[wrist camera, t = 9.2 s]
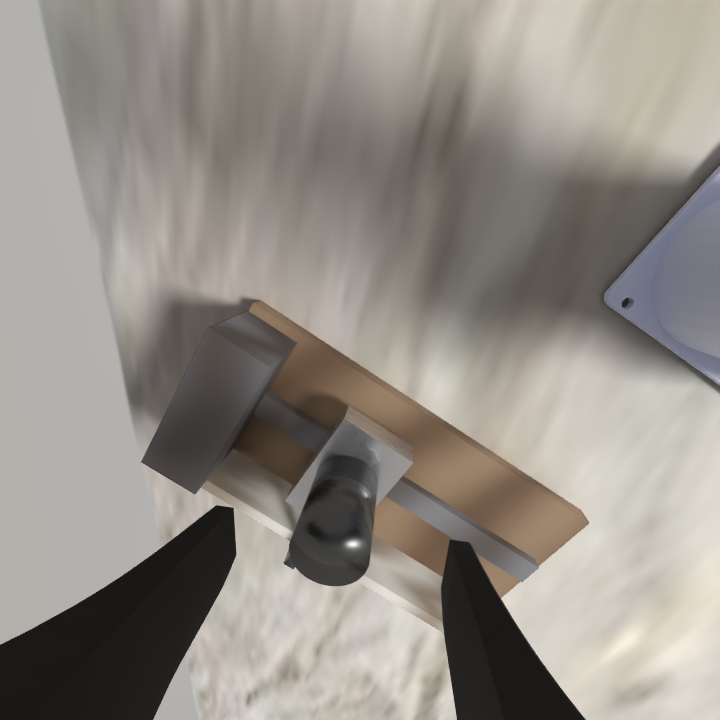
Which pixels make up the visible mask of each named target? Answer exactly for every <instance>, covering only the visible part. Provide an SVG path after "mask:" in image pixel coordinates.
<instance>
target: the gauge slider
mask: <svg viewBox="0 0 720 720" xmlns="http://www.w3.org/2000/svg"><path fill="white" fill-rule="evenodd" d="M412 464H413V446H411V445H410V444H408V443H407V442H405V441H404V440H402V439H400V438H399V437H397V436H396V435H394V434H393V433H391V432H390V431H388V430H386V429H385V428H383V427H382V426H380V425H379V424H377V423H376V422H374V421H372V420H371V419H369V418H368V417H366V416H365V415H363V414H362V413H360V412H358V411H357V410H355V409H354V408H352V407H351V406H348V407H347V409H346V410H345V412H344V413H343V414H342V416H341V417H340V419H339V420H338V421H337V423H336V424H335V426H334V427H333V428H332V430H331V431H330V433H329V434H328V435H327V437H326V438H325V440H324V441H323V442H322V444H321V445H320V446H319V448H318V449H317V451H316V452H315V453H314V455H313V456H312V458H311V459H310V460H309V462H308V463H307V465H306V466H305V467H304V469H303V470H302V472H301V473H300V474H299V476H298V477H297V479H296V480H295V481H294V483H293V485H292V487H291V489H290V491H289V493H288V495H287V498H286V500H285V501H286V502H287V503H289V504H291V505H292V506H294V507H295V508H297V509H299V510H300V511H302V512H301V514H300V517H299V520H298V522H297V525H296V527H295V530H294V533H293V535H292V538H291V540H290V544H289V550H288V553H287V556H286V558H285V561H284V564H285V565H287V566H289V567H290V568H292V569H294V568H295V567H296V568H297V570H298V571H299V572H300V573H302V574H303V575H304V576H305V577H307V578H308V579H310V580H312V581H314V582H317V583H319V584H323V585H328V586H343V585H348V584H351V583H353V582H355V581H357V580H359V579H360V578H361V577H362V576H363V575H364V574H365V573H366V571H367V569H368V567H369V563H370V556H371V546H372V536H373V527H374V517H375V508H376V506H377V505H378V504H379V503H380V501H381V500H382V499H383V498H384V497H385V496H386V494H387V493H388V492H389V491H390V490H391V489H392V487H393V486H394V485H395V484H396V483H397V482H398V480H399V479H400V478H401V477H402V476H403V475H404V473H405V472H406V471H407V470H408V469H409V468H410V466H411V465H412Z"/></svg>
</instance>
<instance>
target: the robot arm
mask: <svg viewBox="0 0 720 720" xmlns="http://www.w3.org/2000/svg"><path fill="white" fill-rule="evenodd" d="M625 298H628V299H629V303H628V304H627V305H626V306H625V307H622V301H623V300H624V299H625ZM604 302H605V303H606V304H607V305H608V306H609V307H610V308H612V309H613V310H615V311H616V312H617V313H619V314H620V315H622V316H623V317H624V318H626V319H627V320H629V321H630V322H631V323H633V324H634V325H636V326H637V327H638V328H640V329H641V330H643V331H644V332H645V333H647V334H648V335H650V336H651V337H652V338H654V339H655V340H657V341H658V342H659V343H661V344H662V345H664V346H665V347H666V348H668V349H669V350H671V351H672V352H673V353H675V354H676V355H678V356H679V357H680V358H682V359H683V360H685V361H686V362H687V363H689V364H690V365H692V366H693V367H694V368H696V369H697V370H699V371H700V372H701V373H703V374H704V375H706V376H707V377H708V378H710V379H711V380H713V381H714V382H715V383H717V384H718V385H720V166H719V167H718V168H717V169H716V170H715V171H714V172H713V173H712V174H711V176H710V177H709V178H708V179H707V180H706V181H705V182H704V183H703V184H702V185H701V187H700V188H699V189H698V190H697V191H696V192H695V193H694V194H693V195H692V197H691V198H690V199H689V200H688V201H687V202H686V203H685V204H684V205H683V207H682V208H681V209H680V210H679V211H678V212H677V213H676V214H675V215H674V216H673V218H672V219H671V220H670V221H669V222H668V223H667V224H666V225H665V226H664V228H663V229H662V230H661V231H660V232H659V233H658V234H657V235H656V236H655V237H654V239H653V240H652V241H651V242H650V243H649V244H648V245H647V246H646V247H645V249H644V250H643V251H642V252H641V253H640V254H639V255H638V256H637V257H636V258H635V260H634V261H633V262H632V263H631V264H630V265H629V266H628V267H627V268H626V270H625V271H624V272H623V273H622V274H621V275H620V276H619V277H618V278H617V279H616V281H615V282H614V283H613V284H612V285H611V286H610V287H609V288H608V289H607V291H606V292H605V294H604ZM235 557H236V541H235V525H234V508H231V507H224V506H217V505H216V506H215V507H214V508H212V509H211V510H210V511H208V512H207V513H206V514H205V515H203V516H202V517H201V518H199V519H198V520H197V521H196V522H194V523H193V524H192V525H190V526H189V527H188V528H187V529H185V530H184V531H183V532H182V533H180V534H179V535H178V536H176V537H175V538H174V539H172V540H171V541H170V542H168V543H167V544H166V545H164V546H163V547H162V548H161V549H159V550H158V551H157V552H155V553H154V554H152V555H151V556H150V557H148V558H147V559H145V560H144V561H143V562H141V563H140V564H139V565H137V566H136V567H134V568H133V569H132V570H130V571H128V572H127V573H126V574H124V575H123V576H121V577H120V578H118V579H117V580H115V581H114V582H112V583H110V584H109V585H107V586H106V587H104V588H103V589H101V590H99V591H98V592H96V593H95V594H93V595H91V596H90V597H88V598H86V599H85V600H83V601H81V602H80V603H78V604H76V605H75V606H73V607H71V608H69V609H67V610H66V611H64V612H62V613H60V614H58V615H56V616H55V617H53V618H51V619H49V620H47V621H46V622H44V623H42V624H40V625H38V626H37V627H35V628H33V629H31V630H29V631H27V632H25V633H23V634H21V635H19V636H17V637H15V638H13V639H11V640H9V641H7V642H5V643H3V644H1V645H0V720H153V718H154V716H155V714H156V712H157V710H158V707H159V705H160V703H161V701H162V699H163V697H164V695H165V693H166V690H167V688H168V686H169V684H170V682H171V680H172V678H173V676H174V674H175V672H176V670H177V668H178V666H179V664H180V663H181V661H182V659H183V657H184V656H185V654H186V652H187V650H188V649H189V647H190V645H191V643H192V641H193V640H194V638H195V636H196V634H197V632H198V631H199V629H200V627H201V625H202V624H203V622H204V620H205V618H206V616H207V615H208V613H209V611H210V609H211V607H212V606H213V604H214V602H215V600H216V598H217V597H218V595H219V593H220V591H221V589H222V587H223V585H224V583H225V581H226V578H227V576H228V574H229V571H230V569H231V567H232V564H233V562H234V559H235ZM441 601H442V619H443V629H444V636H445V643H446V649H447V656H448V663H449V669H450V676H451V682H452V689H453V695H454V702H455V708H456V715H457V720H586V719H585V718H584V717H583V716H582V715H581V713H580V712H579V711H578V710H577V708H576V707H575V706H574V704H573V703H572V702H571V701H570V699H569V698H568V697H567V695H566V694H565V693H564V692H563V690H562V689H561V688H560V686H559V685H558V684H557V682H556V681H555V680H554V678H553V677H552V675H551V674H550V673H549V671H548V670H547V669H546V667H545V666H544V664H543V663H542V662H541V660H540V659H539V657H538V656H537V655H536V653H535V652H534V650H533V649H532V647H531V646H530V644H529V643H528V641H527V640H526V638H525V637H524V635H523V634H522V632H521V631H520V629H519V628H518V626H517V624H516V623H515V621H514V620H513V618H512V616H511V615H510V613H509V612H508V610H507V608H506V607H505V605H504V603H503V602H502V600H501V598H500V597H499V595H498V593H497V591H496V590H495V588H494V586H493V584H492V583H491V581H490V579H489V577H488V575H487V574H486V572H485V570H484V568H483V566H482V564H481V562H480V560H479V558H478V556H477V554H476V552H475V550H474V548H473V546H472V545H471V544H470V542H465V541H458V540H451V539H450V541H449V546H448V551H447V557H446V562H445V568H444V573H443V578H442V584H441Z"/></svg>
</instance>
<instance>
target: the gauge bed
mask: <svg viewBox="0 0 720 720" xmlns="http://www.w3.org/2000/svg"><path fill="white" fill-rule="evenodd" d="M348 406H351V407H352V408H354V409H355V410H357V411H358V412H360V413H362V414H363V415H365V416H366V417H368V418H369V419H371V420H372V421H374V422H376V423H377V424H379V425H380V426H382V427H383V428H385V429H386V430H388V431H390V432H391V433H393V434H394V435H396V436H397V437H399V438H400V439H402V440H404V441H405V442H407V443H408V444H410V445H411V446H413V464H412V465H411V466H410V468H409V469H408V470H407V471H406V472H405V473H404V475H403V476H402V477H401V478H400V479H399V480H398V482H397V483H396V484H395V485H394V486H393V487H392V489H391V490H390V491H389V492H388V493H387V494H386V496H385V497H384V498H383V499H382V500H381V501H380V503H379V504H378V505H377V506H376V508H375V517H374V527H373V536H372V546H371V556H370V563H369V567H368V569H367V571H366V573H365V574H364V575H363V576H362V577H361V578H360V579H359V580H357V581H358V582H360V583H361V584H363V585H365V586H366V587H368V588H370V589H371V590H373V591H375V592H376V593H378V594H380V595H381V596H383V597H385V598H386V599H388V600H390V601H391V602H393V603H395V604H396V605H398V606H400V607H401V608H403V609H405V610H406V611H408V612H410V613H411V614H413V615H415V616H416V617H418V618H420V619H421V620H423V621H425V622H426V623H428V624H430V625H431V626H433V627H435V628H436V629H438V630H440V631H441V632H443V633H444V629H443V619H442V601H441V584H442V578H443V573H444V568H445V562H446V557H447V551H448V546H449V541H450V539H451V540H458V541H465V542H470V544H471V545H472V546H473V548H474V550H475V552H476V554H477V556H478V558H479V560H480V562H481V564H482V566H483V568H484V570H485V572H486V574H487V575H488V577H489V579H490V581H491V583H492V584H493V586H494V588H495V590H496V591H497V593H498V595H499V597H500V598H502V597H503V596H504V595H505V594H506V593H508V592H509V591H510V590H511V589H512V588H513V587H515V586H516V585H517V584H518V583H519V582H520V581H521V582H523V581H524V580H525V579H526V578H528V577H529V576H530V575H531V574H532V573H533V572H535V571H536V570H537V569H538V568H539V567H538V566H539V565H541V564H542V563H543V562H544V561H545V560H546V559H548V558H549V557H550V556H551V555H552V554H554V553H555V552H556V551H557V550H558V549H559V548H561V547H562V546H563V545H564V544H565V543H566V542H568V541H569V540H570V539H571V538H572V537H574V536H575V535H576V534H577V533H578V532H579V531H581V530H582V529H583V528H584V527H585V526H587V525H588V524H589V521H588V520H587V518H586V517H585V515H584V514H583V512H582V511H581V510H580V509H578V508H577V507H575V506H574V505H572V504H571V503H569V502H568V501H566V500H565V499H563V498H562V497H560V496H559V495H557V494H556V493H554V492H552V491H551V490H549V489H548V488H546V487H545V486H543V485H542V484H540V483H539V482H537V481H536V480H534V479H533V478H531V477H530V476H528V475H526V474H525V473H523V472H522V471H520V470H519V469H517V468H516V467H514V466H513V465H511V464H510V463H508V462H507V461H505V460H504V459H502V458H501V457H499V456H497V455H496V454H494V453H493V452H491V451H490V450H488V449H487V448H485V447H484V446H482V445H481V444H479V443H478V442H476V441H475V440H473V439H472V438H470V437H468V436H467V435H465V434H464V433H462V432H461V431H459V430H458V429H456V428H455V427H453V426H452V425H450V424H449V423H447V422H446V421H444V420H443V419H441V418H439V417H438V416H436V415H435V414H433V413H432V412H430V411H429V410H427V409H426V408H424V407H423V406H421V405H420V404H418V403H417V402H415V401H413V400H412V399H410V398H409V397H407V396H406V395H404V394H403V393H401V392H400V391H398V390H397V389H395V388H394V387H392V386H391V385H389V384H388V383H386V382H384V381H383V380H381V379H380V378H378V377H377V376H375V375H374V374H372V373H371V372H369V371H368V370H366V369H365V368H363V367H362V366H360V365H359V364H357V363H355V362H354V361H352V360H351V359H349V358H348V357H346V356H345V355H343V354H342V353H340V352H339V351H337V350H336V349H334V348H333V347H331V346H330V345H328V344H326V343H325V342H323V341H322V340H320V339H319V338H317V337H316V336H314V335H313V334H311V333H310V332H308V331H307V330H305V329H304V328H302V327H300V326H299V325H297V324H296V323H294V322H293V321H291V320H290V319H288V318H287V317H285V316H284V315H282V314H281V313H279V312H278V311H276V310H275V309H273V308H271V307H270V306H268V305H267V304H265V303H264V302H262V301H261V300H260V301H257V302H254V303H253V304H252V306H251V307H250V309H249V311H247V312H245V313H243V314H240V315H238V316H235V317H233V318H230V319H228V320H225V321H223V322H221V323H218V324H216V325H213V326H211V327H208V329H207V331H206V333H205V335H204V337H203V339H202V341H201V343H200V345H199V347H198V349H197V351H196V353H195V355H194V357H193V359H192V361H191V363H190V365H189V367H188V369H187V371H186V373H185V375H184V377H183V379H182V381H181V383H180V385H179V387H178V389H177V391H176V393H175V395H174V397H173V399H172V401H171V403H170V405H169V407H168V409H167V411H166V413H165V415H164V417H163V419H162V421H161V423H160V425H159V427H158V429H157V431H156V433H155V435H154V437H153V439H152V441H151V443H150V445H149V447H148V449H147V451H146V453H145V455H144V457H143V459H142V461H141V462H142V463H143V464H145V465H147V466H148V467H150V468H152V469H153V470H155V471H157V472H158V473H160V474H162V475H163V476H165V477H167V478H168V479H170V480H172V481H173V482H175V483H177V484H178V485H180V486H182V487H183V488H185V489H187V490H188V491H190V492H192V493H193V494H196V493H197V492H198V490H199V489H200V488H201V487H202V486H203V485H204V486H203V487H202V488H203V489H205V490H206V491H208V492H210V493H211V494H213V495H215V496H216V497H218V498H220V499H221V500H223V501H225V502H226V503H228V504H230V505H231V506H233V507H235V508H236V509H238V510H240V511H241V512H243V513H245V514H246V515H248V516H250V517H251V518H253V519H255V520H256V521H258V522H260V523H261V524H263V525H265V526H266V527H268V528H270V529H271V530H273V531H275V532H276V533H278V534H280V535H281V536H283V537H285V538H286V539H288V540H291V538H292V535H293V533H294V530H295V527H296V525H297V522H298V520H299V517H300V514H301V512H302V511H300V510H299V509H297V508H295V507H294V506H292V505H291V504H289V503H287V502H286V501H285V500H286V498H287V495H288V493H289V491H290V489H291V487H292V485H293V483H294V481H295V480H296V479H297V477H298V476H299V474H300V473H301V472H302V470H303V469H304V467H305V466H306V465H307V463H308V462H309V460H310V459H311V458H312V456H313V455H314V453H315V452H316V451H317V449H318V448H319V446H320V445H321V444H322V442H323V441H324V440H325V438H326V437H327V435H328V434H329V433H330V431H331V430H332V428H333V427H334V426H335V424H336V423H337V421H338V420H339V419H340V417H341V416H342V414H343V413H344V412H345V410H346V409H347V407H348ZM204 483H205V484H204Z"/></svg>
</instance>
